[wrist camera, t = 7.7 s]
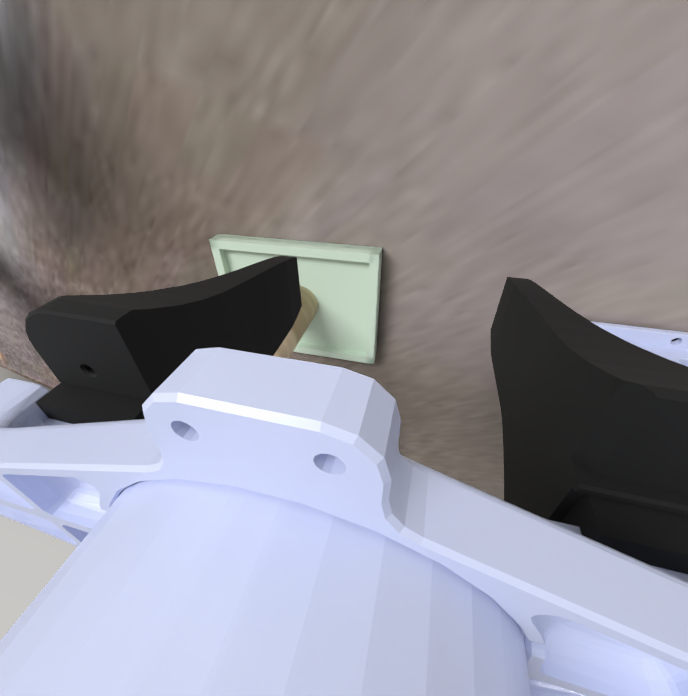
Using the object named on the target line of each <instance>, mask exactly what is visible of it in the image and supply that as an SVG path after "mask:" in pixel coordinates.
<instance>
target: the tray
mask: <svg viewBox="0 0 688 696" xmlns="http://www.w3.org/2000/svg"><path fill="white" fill-rule="evenodd" d="M209 242H210V245H211V249H212V253H213V256H214V260H215V264H216V268H217V271H218V275H219V276H220V275H223V274H226V273H229V272H232V271H235V270H238V269H241V268H244V267H247V266H249V265H252V264H255V263H257V262H260V261H263V260H266V259H269V258H273V257H277V256H290V257H297V264H298V274H299V283H300V286H303V287H305V288H307V289H309V290H310V291H311V292H312V293H313V294H314V295H315V297H316V299H317V301H318V311H317V313H316V315H315V316H314V318H313V320H312V321H311V323H310V325H309V326H308V328H307V330H306V331H305V333H304V334H303V336H302V338H301V339H300V341H299V343H298V344H297V346H296V348H295V349H294V351H293V352H300V353H306V354H312V355H318V356H325V357H331V358H337V359H344V360H350V361H356V362H362V363H369V364H374V361H375V357H376V350H377V333H378V315H379V298H380V281H381V263H382V247H370V246H358V245H346V244H334V243H322V242H310V241H298V240H286V239H274V238H262V237H250V236H238V235H226V234H217V235H216V236H214V237H213V238H211V239H209Z"/></svg>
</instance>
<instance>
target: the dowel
mask: <svg viewBox="0 0 688 696" xmlns="http://www.w3.org/2000/svg"><path fill="white" fill-rule="evenodd" d="M300 292H301V301H302V307H301V309H300V312H299V314H298V317H297V319H296V321H295V323H294V325H293V327H292V328H291V330H290V332H289V333H288V335H287V336H286V338H285V339H284V341H283V342H282V344H281V345H280V347H279V348H278V350H277V351H276V353H275V354H274V356H275V357H281V358H288V359H289V357H290V356H291V354H292V352H293V351H294V349H295V348H296V346H297V344H298V343H299V341H300V339H301V338H302V336H303V334H304V333H305V331H306V330H307V328H308V326H309V325H310V323H311V321H312V320H313V318H314V316H315V315H316V313H317V311H318V301H317V299H316V297H315V295H314V294H313V293H312V292H311V291H310V290H309V289H307V288H305V287H303V286H300Z"/></svg>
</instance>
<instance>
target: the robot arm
mask: <svg viewBox="0 0 688 696" xmlns="http://www.w3.org/2000/svg"><path fill="white" fill-rule="evenodd" d="M301 307H302V301H301V292H300V283H299V274H298V264H297V257H290V256H277V257H273V258H269V259H266V260H263V261H260V262H257V263H255V264H252V265H249V266H247V267H244V268H241V269H238V270H235V271H232V272H229V273H226V274H223V275H220V276H217V277H214V278H211V279H208V280H204V281H200V282H196V283H192V284H188V285H183V286H178V287H172V288H166V289H160V290H154V291H146V292H137V293H126V294H111V295H78V296H61V297H58V298H56V299H54V300H52V301H50V302H48V303H46V304H45V305H43V306H41V307H39V308H37V309H35V310H34V311H32V312H30V313H29V314H28V316H27V317H26V332H27V335H28V337H29V340H30V341H31V343H32V344H33V346H34V348H35V349H36V350H37V352H38V353H39V354H40V356H41V357H42V358H43V360H44V361H45V362H46V364H47V365H48V366H49V368H50V369H51V370H52V372H53V373H54V374H55V376H56V377H57V378H58V380H59V381H60V382H62V383H60V384H59V385H58V386H56V387H55V388H54V389H52V390H51V391H50V390H49V389H48V388H46V387H45V386H43V385H40V384H37V383H32V382H28V381H23V380H19V379H14V378H7V379H6V380H4V381H3V382H1V383H0V516H3V517H6V518H8V519H11V520H13V521H16V522H19V523H21V524H24V525H26V526H29V527H31V528H34V529H36V530H39V531H41V532H43V533H46V534H48V535H51V536H53V537H55V538H58V539H60V540H62V541H65V542H67V543H69V544H72V545H74V546H76V547H77V548H76V549H75V551H74V552H73V553H72V554H71V555H70V557H69V558H68V559H67V560H66V561H65V563H64V564H63V565H62V566H61V568H60V569H59V570H58V571H57V573H56V574H55V575H54V576H53V577H52V579H51V580H50V581H49V582H48V583H47V585H46V586H45V587H44V589H42V591H41V592H40V593H39V594H38V596H37V597H36V598H35V599H34V601H33V602H32V603H31V604H30V605H29V607H28V608H27V609H26V610H25V611H24V613H23V614H22V615H21V616H20V618H19V619H18V620H17V621H16V622H15V624H14V625H13V626H12V627H11V629H10V630H9V631H8V632H7V633H6V635H5V636H4V637H3V638H2V640H1V641H0V696H688V333H687V332H679V331H670V330H661V329H653V328H644V327H635V326H627V325H618V324H609V323H601V322H592V321H589V320H587V319H586V318H584V317H583V316H581V315H579V314H578V313H576V312H575V311H573V310H572V309H570V308H569V307H568V306H566V305H565V304H563V303H562V302H561V301H559V300H558V299H556V298H555V297H554V296H552V295H551V294H550V293H548V292H547V291H546V290H544V289H543V288H542V287H540V286H539V285H537V284H536V283H534V282H533V281H531V280H529V279H522V278H511V277H507V280H506V283H505V286H504V289H503V293H502V296H501V299H500V302H499V305H498V309H497V312H496V315H495V318H494V321H493V324H492V328H491V356H492V362H493V368H494V373H495V379H496V384H497V389H498V395H499V400H500V406H501V413H502V425H503V446H504V500H501V499H499V498H497V497H495V496H492V495H490V494H488V493H486V492H483V491H481V490H479V489H476V488H474V487H472V486H470V485H467V484H465V483H463V482H461V481H458V480H456V479H454V478H452V477H449V476H447V475H445V474H443V473H440V472H438V471H436V470H433V469H431V468H429V467H427V466H424V465H422V464H420V463H418V462H415V461H413V460H411V459H409V458H406V457H404V456H402V455H401V454H400V452H399V446H398V440H399V433H400V425H401V419H400V415H399V411H398V407H397V403H396V399H395V398H393V397H392V396H391V395H390V394H389V393H388V392H387V391H386V390H385V389H384V388H383V387H382V386H381V385H380V384H379V383H378V382H377V381H375V380H374V379H372V378H370V377H367V376H364V375H362V374H359V373H356V372H353V371H351V370H348V369H345V368H342V367H336V366H330V365H324V364H318V363H312V362H306V361H300V360H294V359H288V358H281V357H275V356H274V354H275V353H276V351H277V350H278V348H279V347H280V345H281V344H282V342H283V341H284V339H285V338H286V336H287V335H288V333H289V332H290V330H291V328H292V327H293V325H294V323H295V321H296V319H297V317H298V314H299V312H300V309H301ZM675 338H678V339H677V340H675V341H672V340H673V339H675Z"/></svg>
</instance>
